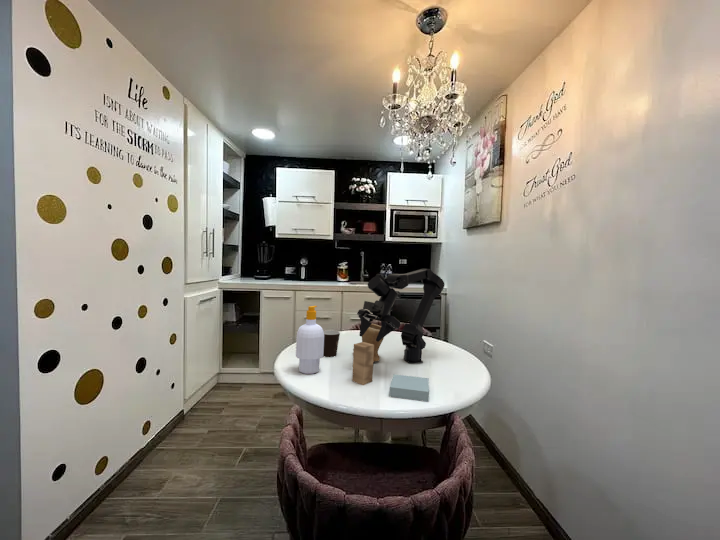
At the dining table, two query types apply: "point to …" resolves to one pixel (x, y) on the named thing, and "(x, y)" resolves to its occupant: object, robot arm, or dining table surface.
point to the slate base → (409, 387)
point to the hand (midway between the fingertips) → (368, 338)
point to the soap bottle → (310, 343)
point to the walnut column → (363, 363)
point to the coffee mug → (331, 342)
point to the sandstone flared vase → (373, 339)
